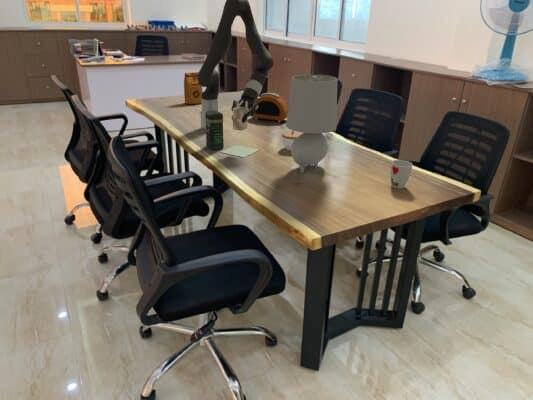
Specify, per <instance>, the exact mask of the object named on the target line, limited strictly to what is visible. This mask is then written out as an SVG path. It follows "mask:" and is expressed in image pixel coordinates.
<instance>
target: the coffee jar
mask: <svg viewBox="0 0 533 400" xmlns="http://www.w3.org/2000/svg"><path fill="white" fill-rule="evenodd" d="M205 119H206V130H205V134H206V135H205V138H206V139H205V140H206V143H205V144H206V147H207V149H210V150H217V151H218V150H221V149H224V114H223V113H222V112H220V111H219V110H218V111H216V110H208V111H207V112H206V115H205Z"/></svg>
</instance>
